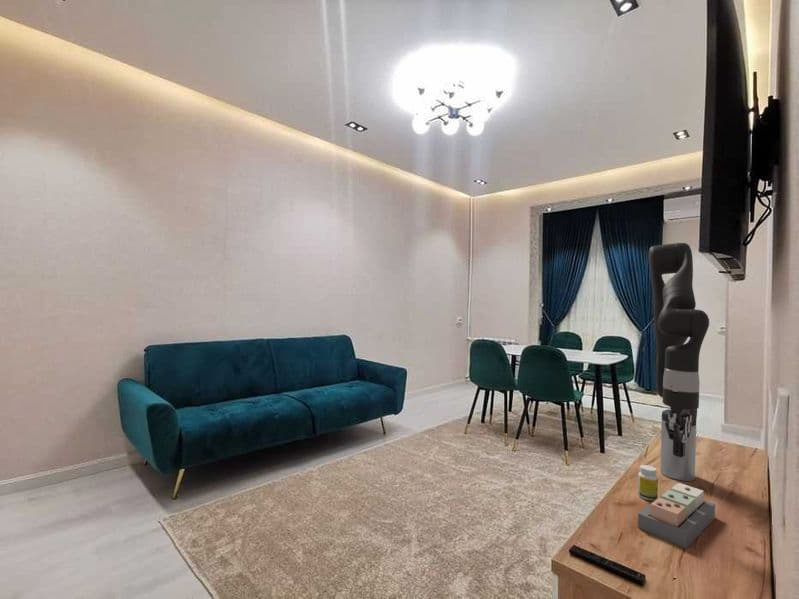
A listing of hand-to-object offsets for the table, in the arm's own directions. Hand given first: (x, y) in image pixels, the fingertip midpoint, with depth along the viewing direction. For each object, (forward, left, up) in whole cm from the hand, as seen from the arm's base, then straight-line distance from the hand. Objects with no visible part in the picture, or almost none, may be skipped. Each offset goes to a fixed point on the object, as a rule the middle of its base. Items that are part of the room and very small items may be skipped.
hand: (678, 455), depth 100 cm
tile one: (-7, 0, -13) cm, 15 cm away
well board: (0, 0, -17) cm, 17 cm away
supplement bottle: (-8, -10, -17) cm, 21 cm away
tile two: (0, 0, -14) cm, 14 cm away
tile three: (+7, 0, -14) cm, 15 cm away
